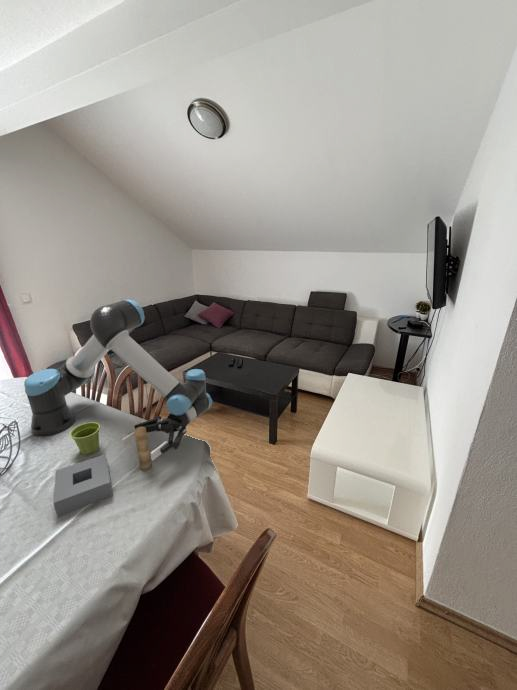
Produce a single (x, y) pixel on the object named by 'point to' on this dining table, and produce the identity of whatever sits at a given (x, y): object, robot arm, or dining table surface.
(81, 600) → the dining table surface
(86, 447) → the plant pot
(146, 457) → the oak dowel
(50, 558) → the dining table surface
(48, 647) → the dining table surface
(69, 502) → the socket block
